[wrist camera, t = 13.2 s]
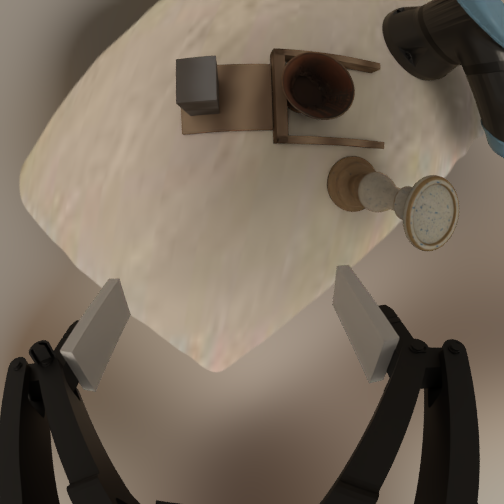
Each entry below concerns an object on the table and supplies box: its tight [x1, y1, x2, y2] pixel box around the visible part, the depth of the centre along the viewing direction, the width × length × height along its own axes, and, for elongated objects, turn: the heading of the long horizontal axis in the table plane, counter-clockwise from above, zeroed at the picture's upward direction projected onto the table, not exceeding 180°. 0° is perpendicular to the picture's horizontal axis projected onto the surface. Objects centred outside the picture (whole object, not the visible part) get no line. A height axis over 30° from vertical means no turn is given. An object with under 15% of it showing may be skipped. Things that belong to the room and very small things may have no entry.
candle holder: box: [327, 156, 459, 251], centre depth 31 cm, size 9×9×20 cm
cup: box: [281, 52, 355, 120], centre depth 31 cm, size 9×9×10 cm
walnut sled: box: [176, 49, 384, 149], centre depth 29 cm, size 29×14×12 cm, turn 92°
